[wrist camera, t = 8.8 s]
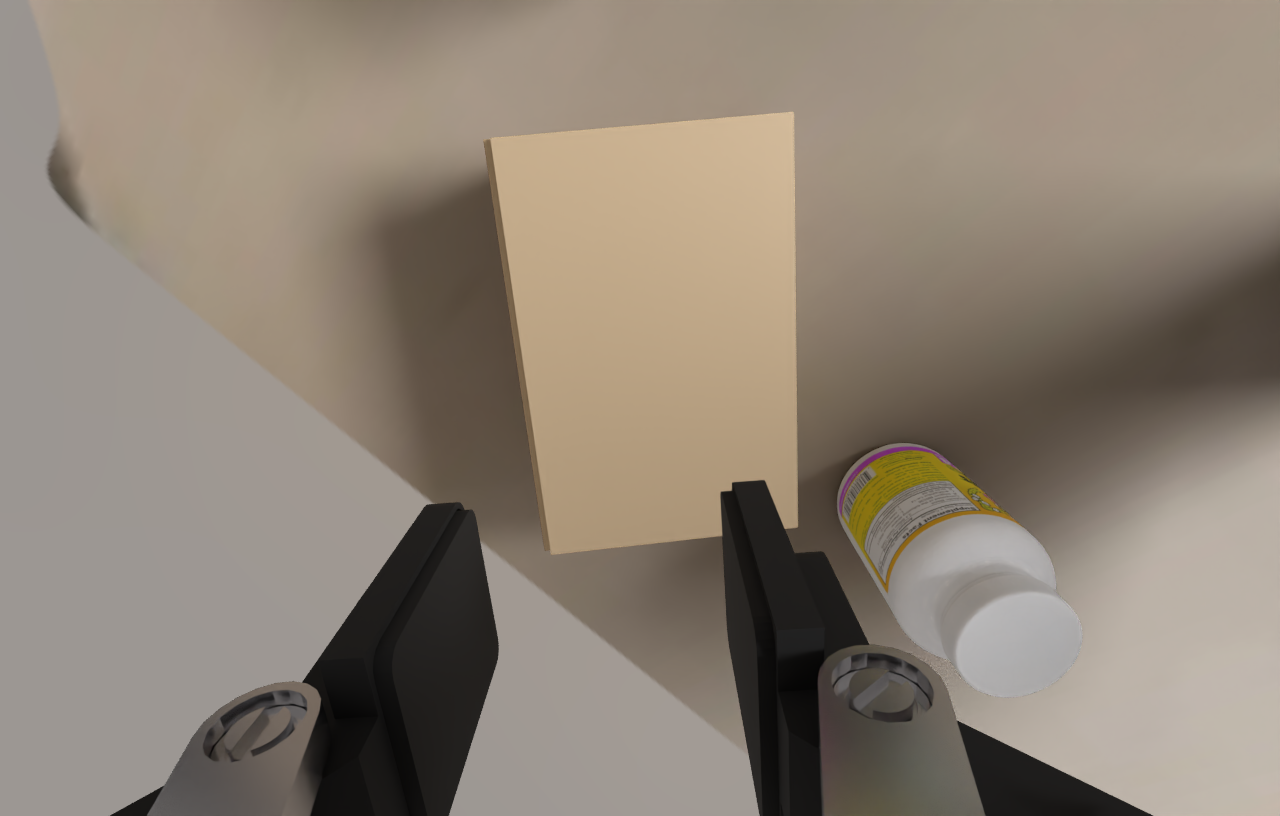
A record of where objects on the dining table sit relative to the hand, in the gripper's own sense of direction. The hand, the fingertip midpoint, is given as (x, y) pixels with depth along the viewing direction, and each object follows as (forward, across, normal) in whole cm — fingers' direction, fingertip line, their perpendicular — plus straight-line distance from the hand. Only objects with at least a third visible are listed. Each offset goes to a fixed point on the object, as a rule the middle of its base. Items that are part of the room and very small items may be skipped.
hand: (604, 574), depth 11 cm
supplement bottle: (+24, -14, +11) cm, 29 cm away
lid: (+17, -1, 0) cm, 17 cm away
